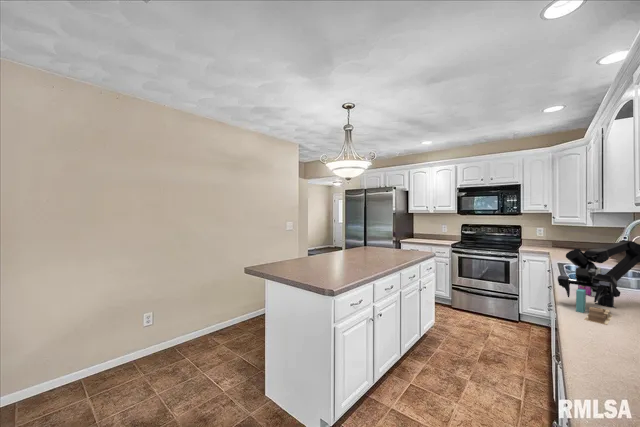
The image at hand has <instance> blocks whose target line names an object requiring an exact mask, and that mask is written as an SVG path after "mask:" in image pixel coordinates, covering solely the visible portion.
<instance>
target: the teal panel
mask: <svg viewBox="0 0 640 427" xmlns="http://www.w3.org/2000/svg"><path fill="white" fill-rule="evenodd" d="M575 293H576V296H575V312H577V313H580V314H584V313H585V312H586V309H587V308H586V307H587V306H586V304H587V303H586V299H587V294H586V290H585V289H578V288H577V289H576V291H575Z"/></svg>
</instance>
